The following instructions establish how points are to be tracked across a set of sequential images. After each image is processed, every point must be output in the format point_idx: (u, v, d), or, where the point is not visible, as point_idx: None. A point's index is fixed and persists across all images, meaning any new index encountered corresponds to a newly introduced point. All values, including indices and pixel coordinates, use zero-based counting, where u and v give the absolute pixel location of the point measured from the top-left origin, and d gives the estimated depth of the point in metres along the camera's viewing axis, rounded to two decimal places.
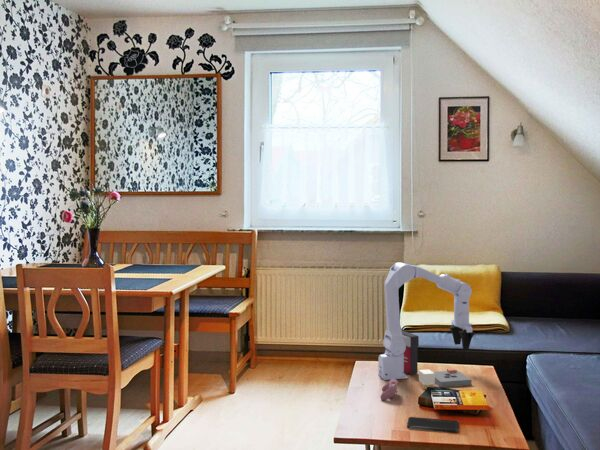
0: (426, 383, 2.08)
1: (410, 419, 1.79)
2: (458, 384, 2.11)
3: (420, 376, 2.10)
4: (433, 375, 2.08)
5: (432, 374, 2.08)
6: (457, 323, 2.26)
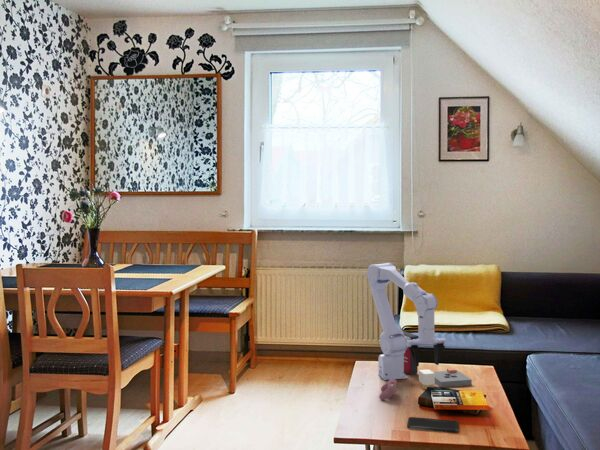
0: (426, 383, 2.08)
1: (410, 419, 1.79)
2: (458, 384, 2.11)
3: (420, 376, 2.10)
4: (433, 375, 2.08)
5: (432, 374, 2.08)
6: None
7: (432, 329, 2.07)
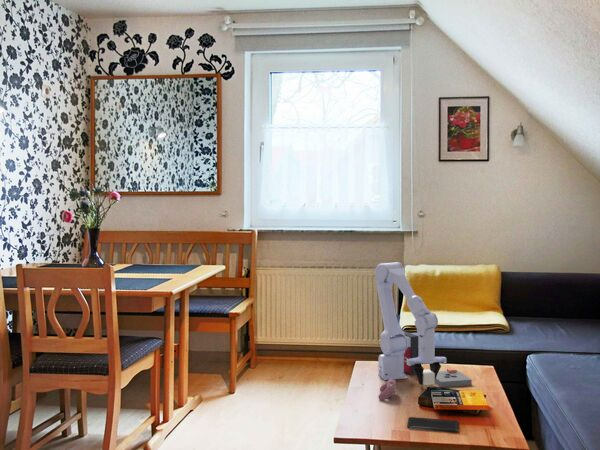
0: (426, 383, 2.08)
1: (410, 419, 1.79)
2: (458, 384, 2.11)
3: None
4: (433, 375, 2.08)
5: (432, 374, 2.08)
6: None
7: (432, 348, 2.08)
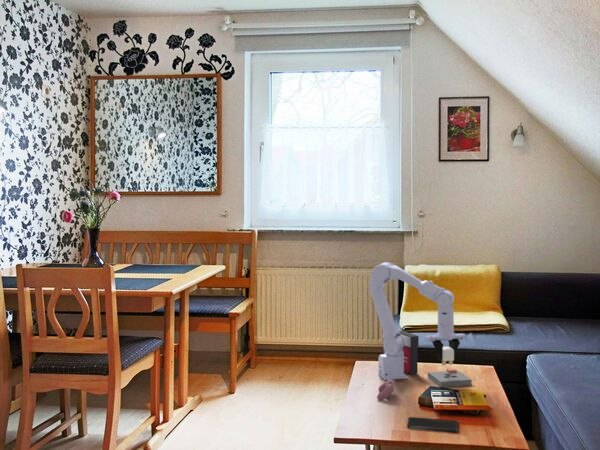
0: (446, 359, 2.13)
1: (410, 419, 1.79)
2: (458, 384, 2.11)
3: None
4: (452, 351, 2.13)
5: (451, 350, 2.13)
6: None
7: (451, 325, 2.13)
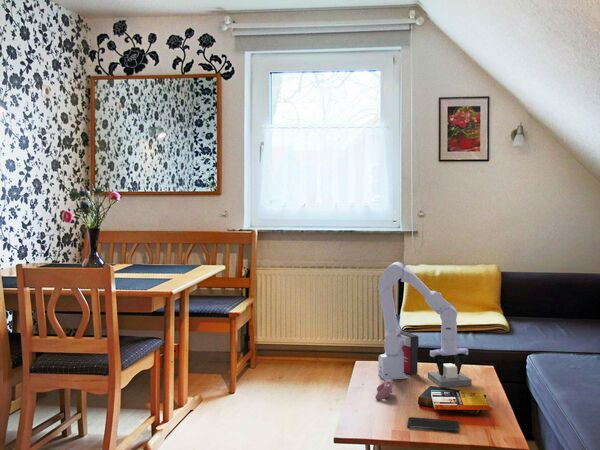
0: (449, 376, 2.14)
1: (410, 419, 1.79)
2: (458, 384, 2.11)
3: (443, 369, 2.17)
4: (456, 369, 2.15)
5: (455, 368, 2.15)
6: None
7: (455, 340, 2.14)
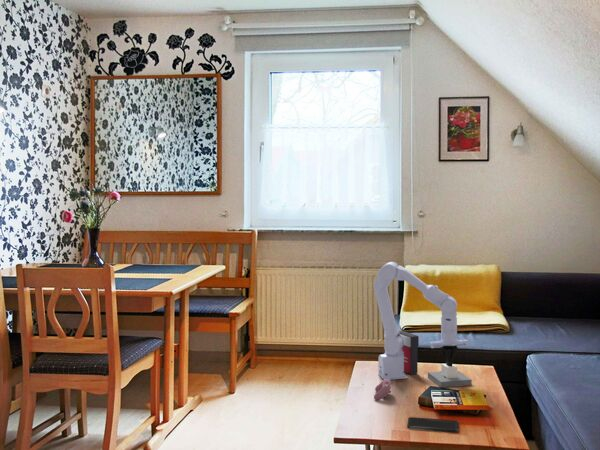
0: (449, 376, 2.14)
1: (410, 419, 1.78)
2: (458, 384, 2.11)
3: (443, 369, 2.17)
4: (456, 369, 2.15)
5: (455, 368, 2.15)
6: None
7: (455, 331, 2.14)
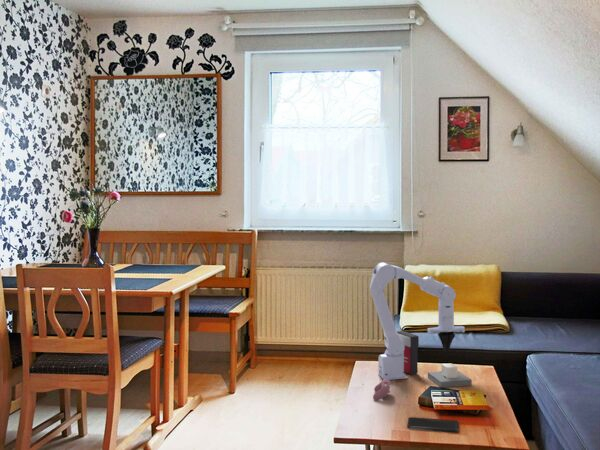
0: (449, 376, 2.14)
1: (410, 419, 1.78)
2: (458, 384, 2.11)
3: (443, 369, 2.17)
4: (456, 369, 2.15)
5: (455, 368, 2.15)
6: None
7: (452, 318, 2.21)
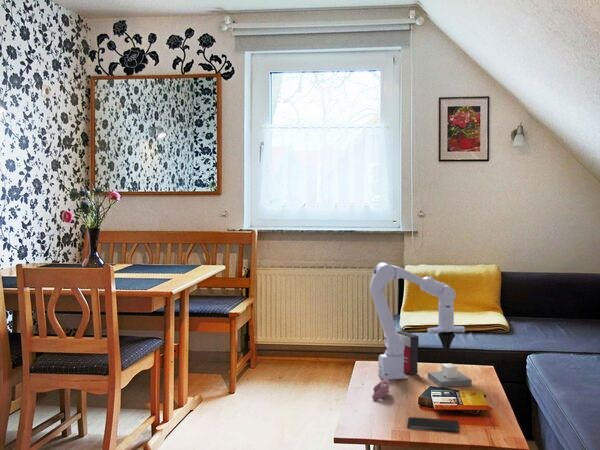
0: (449, 376, 2.14)
1: (410, 419, 1.78)
2: (458, 384, 2.11)
3: (443, 369, 2.17)
4: (456, 369, 2.15)
5: (455, 368, 2.15)
6: None
7: (452, 318, 2.21)
